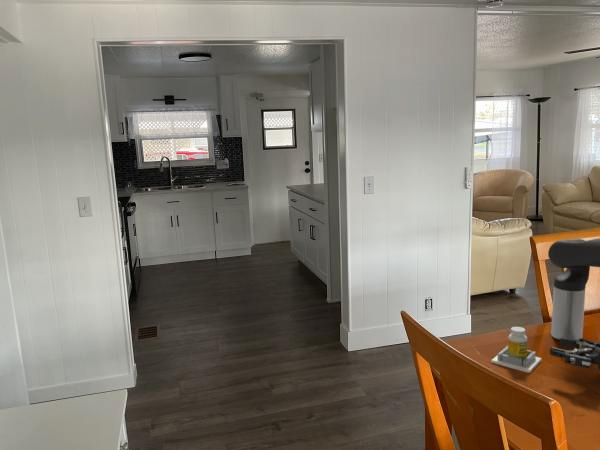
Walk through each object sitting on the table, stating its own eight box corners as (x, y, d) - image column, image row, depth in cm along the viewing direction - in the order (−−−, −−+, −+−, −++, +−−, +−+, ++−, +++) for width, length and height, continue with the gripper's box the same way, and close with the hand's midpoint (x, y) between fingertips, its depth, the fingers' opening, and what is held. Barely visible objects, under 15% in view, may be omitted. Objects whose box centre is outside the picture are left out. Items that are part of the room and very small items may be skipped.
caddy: (504, 351, 157) (504, 342, 157) (541, 360, 150) (541, 351, 149) (491, 362, 150) (491, 353, 149) (529, 373, 142) (529, 363, 142)
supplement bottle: (514, 353, 153) (515, 324, 152) (530, 359, 149) (532, 329, 147) (503, 358, 150) (504, 328, 149) (519, 364, 146) (521, 333, 144)
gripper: (628, 339, 135) (563, 326, 146) (616, 357, 125) (547, 341, 136) (626, 365, 136) (561, 350, 147) (614, 385, 126) (546, 367, 137)
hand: (555, 346), depth 141 cm, fingers open, 8 cm apart
